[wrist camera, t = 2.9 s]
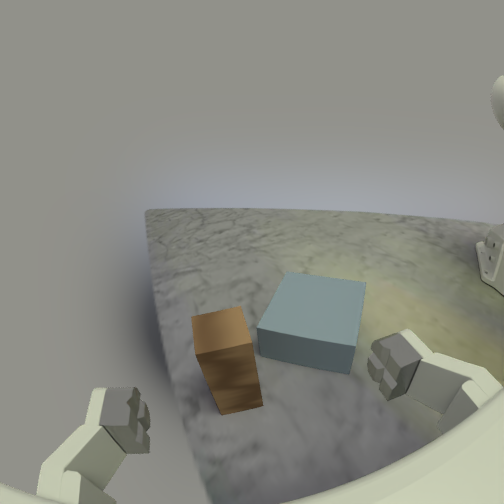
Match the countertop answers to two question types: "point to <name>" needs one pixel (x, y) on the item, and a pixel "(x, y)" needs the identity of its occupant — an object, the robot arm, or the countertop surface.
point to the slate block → (313, 322)
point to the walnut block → (227, 359)
